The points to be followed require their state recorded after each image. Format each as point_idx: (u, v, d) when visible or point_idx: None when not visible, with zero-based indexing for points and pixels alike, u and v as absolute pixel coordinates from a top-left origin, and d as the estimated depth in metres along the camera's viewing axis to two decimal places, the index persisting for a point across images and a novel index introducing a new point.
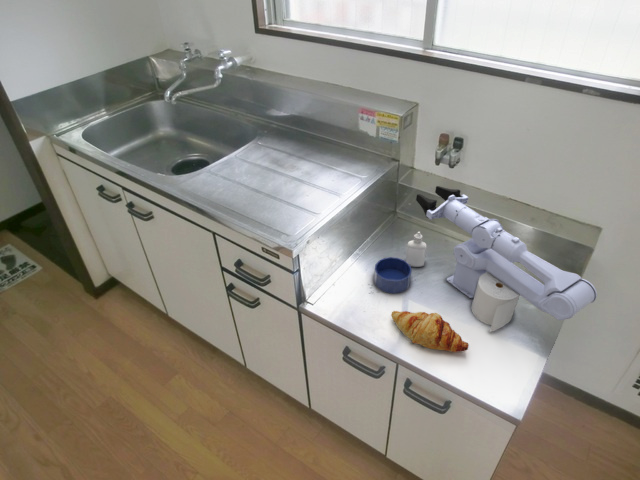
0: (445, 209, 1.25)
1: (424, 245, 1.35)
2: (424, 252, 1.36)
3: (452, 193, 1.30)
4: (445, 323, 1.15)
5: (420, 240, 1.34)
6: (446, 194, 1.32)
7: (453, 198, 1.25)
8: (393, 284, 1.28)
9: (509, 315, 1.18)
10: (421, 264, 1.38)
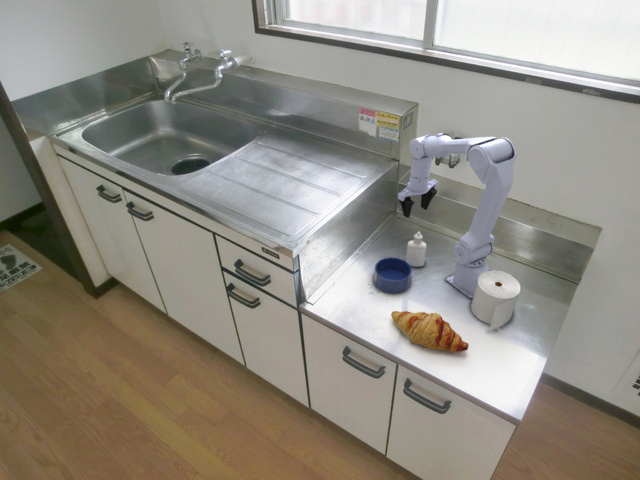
0: (409, 186, 1.38)
1: (424, 245, 1.35)
2: (424, 252, 1.36)
3: None
4: (445, 323, 1.15)
5: (420, 240, 1.34)
6: (424, 197, 1.44)
7: None
8: (393, 284, 1.28)
9: (508, 314, 1.18)
10: (421, 264, 1.38)
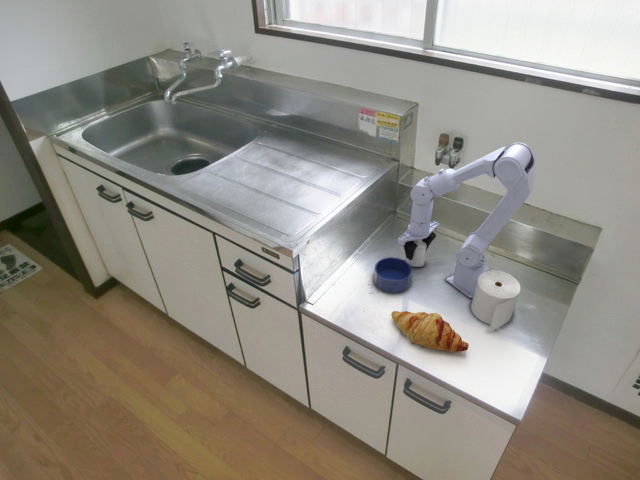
0: (410, 230, 1.32)
1: (424, 245, 1.35)
2: (424, 252, 1.36)
3: None
4: (445, 323, 1.15)
5: (420, 240, 1.34)
6: (422, 240, 1.37)
7: None
8: (393, 284, 1.28)
9: (508, 314, 1.18)
10: (421, 264, 1.38)
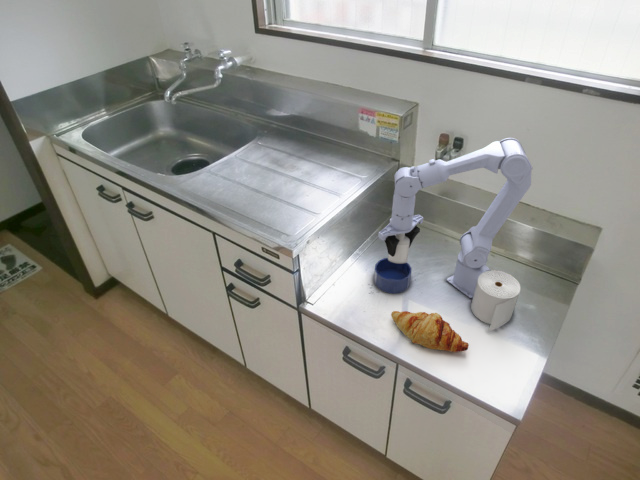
0: (391, 224, 1.23)
1: (407, 240, 1.25)
2: (407, 248, 1.26)
3: None
4: (445, 323, 1.15)
5: (402, 235, 1.24)
6: (406, 235, 1.28)
7: None
8: (393, 284, 1.28)
9: (508, 314, 1.18)
10: (404, 261, 1.29)
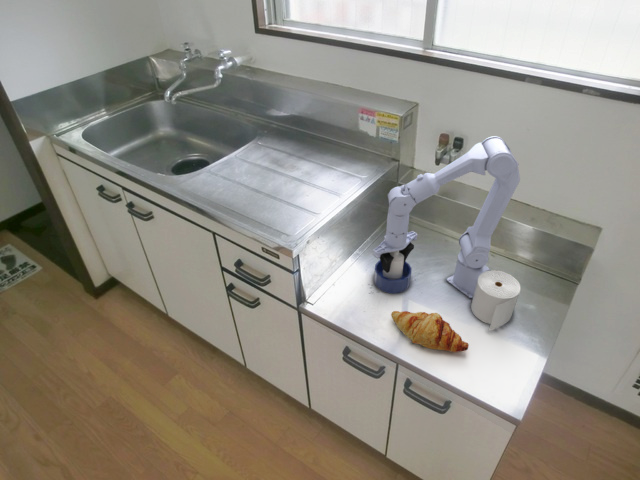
0: (386, 241, 1.25)
1: (401, 257, 1.27)
2: (401, 264, 1.28)
3: None
4: (445, 323, 1.15)
5: (397, 251, 1.26)
6: (400, 252, 1.30)
7: None
8: (393, 284, 1.28)
9: (508, 314, 1.18)
10: (399, 276, 1.31)
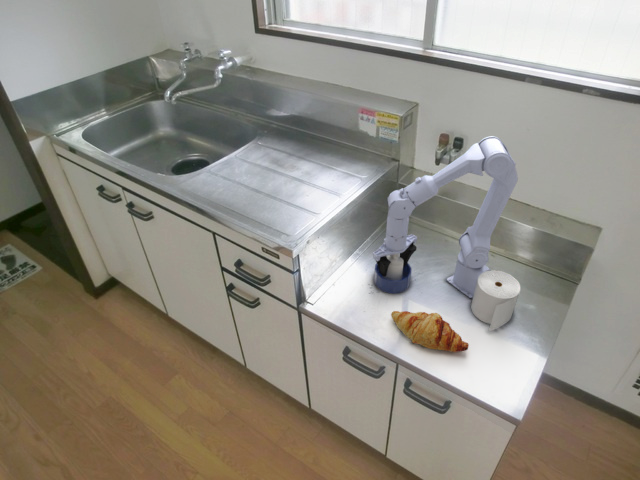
0: (386, 244, 1.25)
1: (401, 261, 1.28)
2: (401, 268, 1.29)
3: None
4: (445, 323, 1.15)
5: (396, 256, 1.27)
6: (403, 253, 1.31)
7: None
8: (393, 284, 1.28)
9: (508, 314, 1.18)
10: None
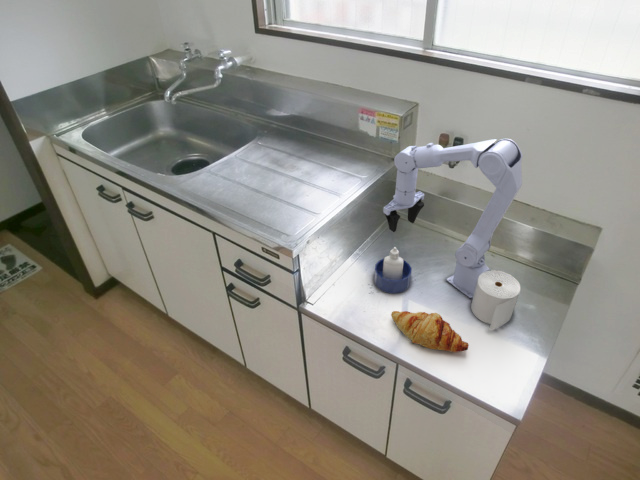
0: (395, 200, 1.32)
1: (401, 261, 1.28)
2: (401, 268, 1.29)
3: None
4: (445, 323, 1.15)
5: (396, 256, 1.27)
6: (411, 210, 1.38)
7: None
8: (393, 284, 1.28)
9: (508, 314, 1.18)
10: None
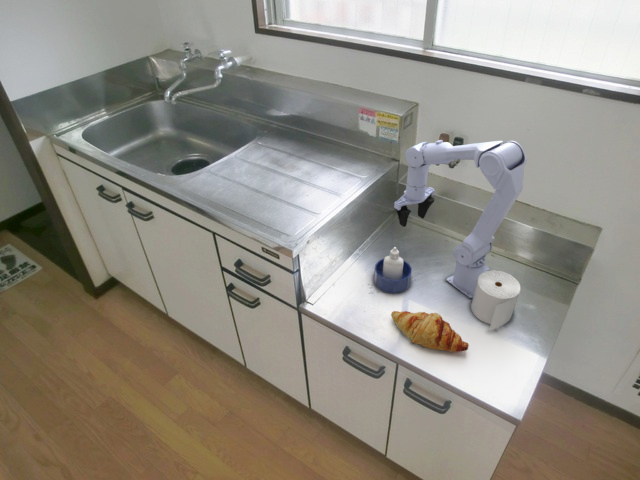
0: (406, 195, 1.34)
1: (401, 261, 1.28)
2: (401, 268, 1.29)
3: None
4: (445, 323, 1.15)
5: (396, 256, 1.27)
6: (421, 205, 1.40)
7: None
8: (393, 284, 1.28)
9: (508, 314, 1.18)
10: None
